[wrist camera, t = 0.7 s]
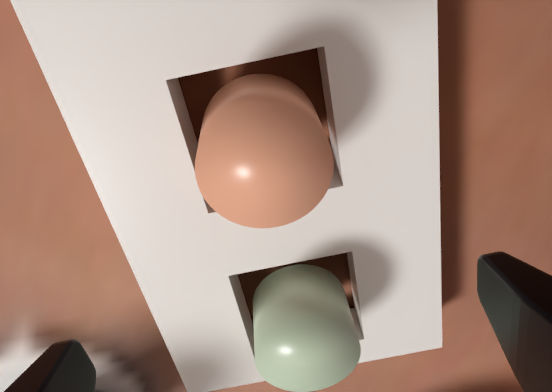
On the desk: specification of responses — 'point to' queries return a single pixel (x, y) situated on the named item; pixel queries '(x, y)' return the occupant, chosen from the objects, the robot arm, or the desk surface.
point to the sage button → (303, 329)
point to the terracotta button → (262, 152)
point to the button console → (183, 147)
